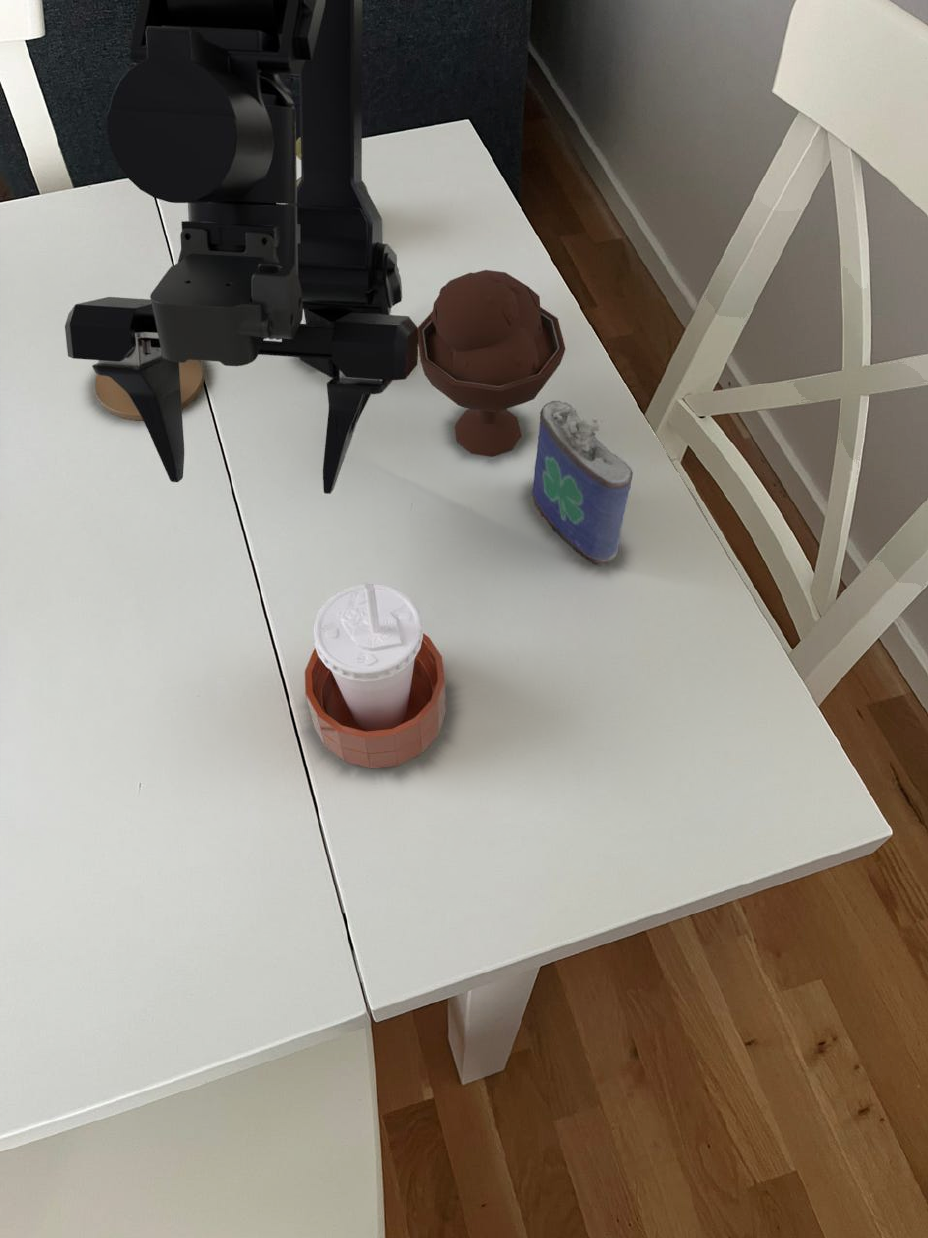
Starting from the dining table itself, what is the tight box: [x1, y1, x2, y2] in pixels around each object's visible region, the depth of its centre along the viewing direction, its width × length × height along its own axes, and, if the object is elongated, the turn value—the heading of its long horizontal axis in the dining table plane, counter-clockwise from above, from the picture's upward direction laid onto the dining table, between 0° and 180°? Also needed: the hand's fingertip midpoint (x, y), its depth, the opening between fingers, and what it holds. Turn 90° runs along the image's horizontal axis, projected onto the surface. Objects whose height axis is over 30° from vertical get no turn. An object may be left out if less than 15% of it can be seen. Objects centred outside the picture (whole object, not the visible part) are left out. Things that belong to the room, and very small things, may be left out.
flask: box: [531, 400, 634, 567], centre depth 70 cm, size 9×3×11 cm, turn 32°
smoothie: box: [313, 581, 424, 731], centre depth 60 cm, size 6×6×14 cm
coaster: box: [94, 360, 205, 421], centre depth 83 cm, size 9×9×1 cm
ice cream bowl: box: [417, 269, 566, 457], centre depth 74 cm, size 11×11×15 cm
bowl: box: [304, 632, 447, 769], centre depth 64 cm, size 9×9×4 cm
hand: (252, 486), depth 59 cm, fingers open, 9 cm apart
